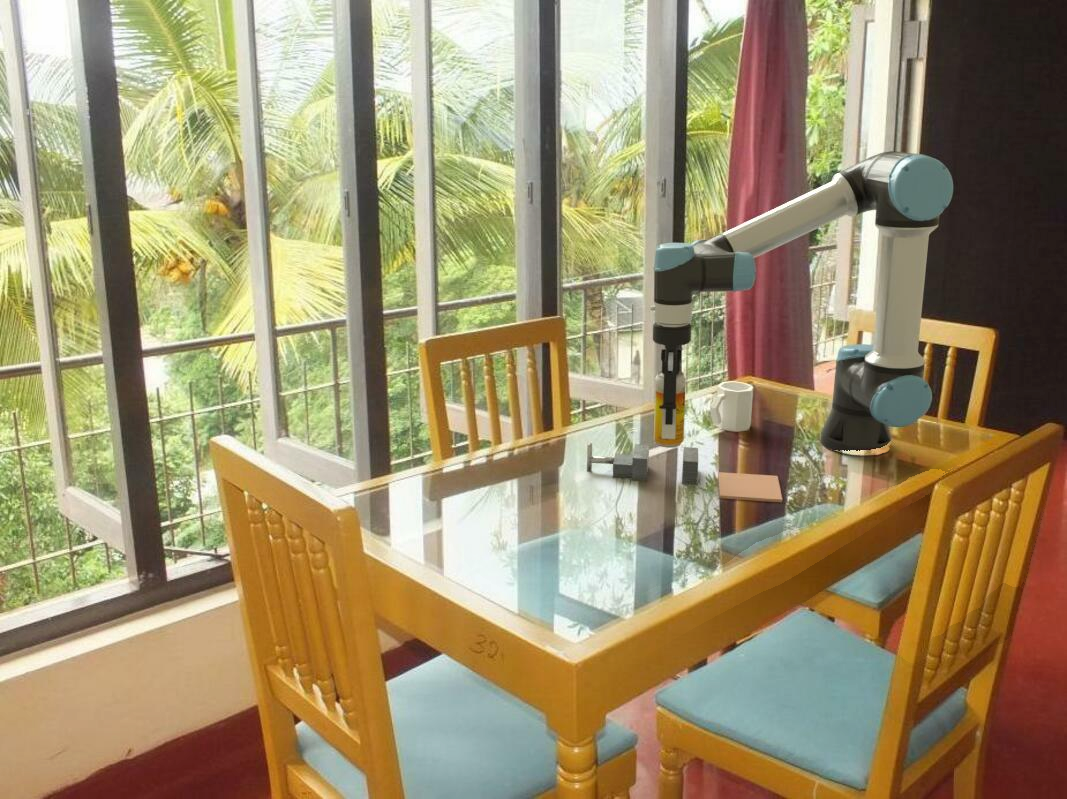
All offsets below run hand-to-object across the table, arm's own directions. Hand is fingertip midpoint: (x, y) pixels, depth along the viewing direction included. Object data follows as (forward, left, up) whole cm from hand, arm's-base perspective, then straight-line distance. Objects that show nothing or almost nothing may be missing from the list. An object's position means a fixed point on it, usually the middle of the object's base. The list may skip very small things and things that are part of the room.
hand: (668, 432), depth 194 cm
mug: (-14, -32, -10) cm, 36 cm away
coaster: (-17, +4, -9) cm, 20 cm away
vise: (+5, 0, -9) cm, 11 cm away
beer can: (0, 0, -3) cm, 3 cm away
